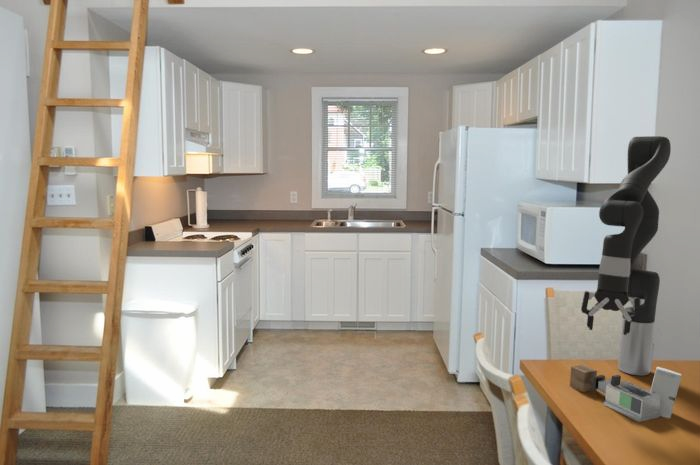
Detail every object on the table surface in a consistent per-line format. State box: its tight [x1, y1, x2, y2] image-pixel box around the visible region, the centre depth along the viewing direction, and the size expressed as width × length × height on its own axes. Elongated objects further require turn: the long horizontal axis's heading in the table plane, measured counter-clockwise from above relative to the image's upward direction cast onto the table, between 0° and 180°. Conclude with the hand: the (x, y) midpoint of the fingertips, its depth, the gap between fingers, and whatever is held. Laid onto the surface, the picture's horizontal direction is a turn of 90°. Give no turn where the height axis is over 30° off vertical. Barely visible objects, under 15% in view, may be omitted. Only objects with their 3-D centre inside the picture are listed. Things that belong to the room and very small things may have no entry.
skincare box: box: [649, 366, 682, 419], centre depth 146 cm, size 6×4×12 cm
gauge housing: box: [603, 380, 661, 423], centre depth 147 cm, size 8×11×6 cm
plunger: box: [592, 374, 630, 395], centre depth 152 cm, size 6×10×6 cm, turn 24°
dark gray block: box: [611, 374, 622, 386], centre depth 148 cm, size 2×1×3 cm, turn 114°
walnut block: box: [569, 364, 598, 393], centre depth 162 cm, size 5×5×6 cm
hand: (607, 331), depth 149 cm, fingers open, 8 cm apart
